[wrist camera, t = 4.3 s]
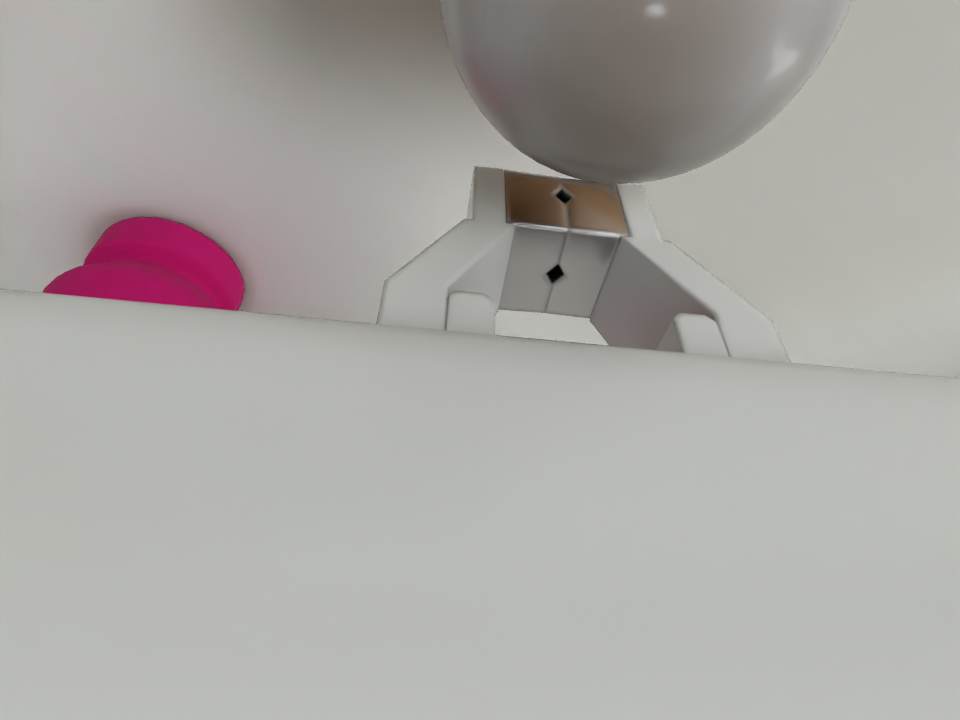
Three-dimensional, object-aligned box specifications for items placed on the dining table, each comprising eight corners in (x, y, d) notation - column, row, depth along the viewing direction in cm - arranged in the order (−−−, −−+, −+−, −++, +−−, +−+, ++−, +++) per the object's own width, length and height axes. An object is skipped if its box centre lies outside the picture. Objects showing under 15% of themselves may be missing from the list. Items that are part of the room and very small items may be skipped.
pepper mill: (59, 260, 26) (-368, 823, 13) (137, 173, 23) (-337, 817, 10) (202, 344, 30) (-12, 831, 17) (287, 281, 27) (98, 830, 14)
